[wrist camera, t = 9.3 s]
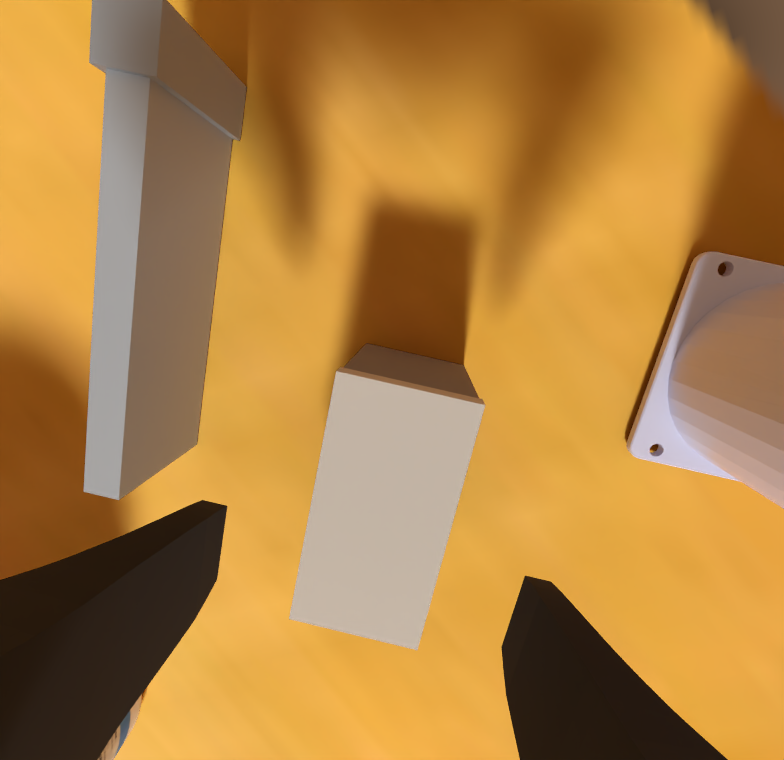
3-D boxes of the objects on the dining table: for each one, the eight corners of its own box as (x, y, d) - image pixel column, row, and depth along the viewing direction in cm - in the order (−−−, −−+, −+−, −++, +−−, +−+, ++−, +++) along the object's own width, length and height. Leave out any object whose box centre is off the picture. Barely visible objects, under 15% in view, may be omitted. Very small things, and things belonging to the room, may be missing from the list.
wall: (321, -537, 12) (249, -1116, 7) (203, 446, 19) (123, 505, 14) (259, -548, 12) (143, -1130, 7) (163, 436, 19) (69, 492, 14)
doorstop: (465, 363, 18) (485, 405, 12) (419, 538, 19) (417, 650, 14) (365, 341, 18) (336, 371, 12) (330, 517, 20) (289, 619, 14)
